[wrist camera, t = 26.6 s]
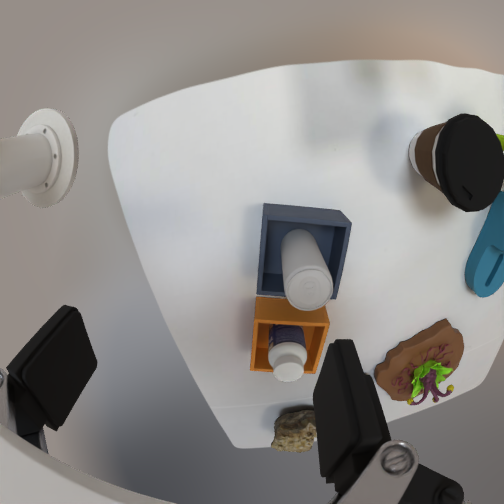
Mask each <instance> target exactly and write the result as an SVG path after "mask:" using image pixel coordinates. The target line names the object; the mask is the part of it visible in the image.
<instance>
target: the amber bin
mask: <svg viewBox="0 0 504 504" xmlns="http://www.w3.org/2000/svg"><path fill="white" fill-rule="evenodd" d="M270 324H283V325H301V326H303V330H304V337H305V344H306V351H307V360H306V363H305V364H304V373H309V374H311V373H312V374H315V373H316V370H317V366H318V363H319V360H320V357H321V353H322V350H323V346H324V343H325V339H326V336H327V332H328V329H329V325H330V322H329V318H328V315H327V311H326V308H325V305H324V306H322V307H321V308H318V309H316V310H312V311H304V310H299V309H297V308H295V307H294V306H292V305H291V304H290V302H289V301H288V299H280V298H266V297H256V306H255V317H254V329H253V341H252V352H251V364H250V371H263V372H273V367H272V366H271V365H270V363H269V360H268V341H269V326H270Z"/></svg>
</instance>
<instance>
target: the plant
mask: <svg viewBox="0 0 504 504" xmlns="http://www.w3.org/2000/svg"><path fill="white" fill-rule="evenodd" d="M463 350H464V343H463V337H462V334H461V333H460V332H459V331H458V329H454V328H452V326H451V324H450V323H449V322H448V320H447V319H444V320H442V321H439V322H437V323H435V324H434V325H433V326H431V327H430V328H428V329H426V330H423V331H421V332H419V333H418V334H416V335H415V336H414V337H412V338H411V339H409V340H407V341H404V342H400V343H399V345H398V346H397V347H396V348H394V349H392V350H390V351H389V352H388V353H387V355H386V360H385V361H384V362H383V363H381V364H378V365H377V366H376V369H375V372H374V376H375V379H376V382H377V384H378V385H379V386H380V387H381V388H382V389H384V390H385V391H386V392H387V393H388V394H389V395H390V397H391V399H392V400H397V401H407V403H408V404H409V405H417V404H418V405H419V404H420V403H421V402H423V401H424V399H425V398H426V397H427V395H428V393H429V391H431V393H432V394H433V396H434V397H433V399H432V400H433V402H434V403H436V402H438V401H439V398H438V396H441V397H446V396H448V395H450V393H452V391H453V389H454V387H453V385H449V386H448V387H447V392H446V393H445V394H443V393H441V392H440V391H439V390H438V384H439V383H440V382H442V381H445V379H446V378H448V377H449V376H450V375H451V374H452V373H453V372H454V370H455V369H456V368H457V367H458V365H459V362H460V360H461V357H462V355H463ZM423 393H424V394H423ZM420 394H423V397H422V399H421V400H420V401H419V402H416V403H415V402H414V400H413V398H414V397H416V396H418V395H420ZM437 395H438V396H437Z"/></svg>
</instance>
